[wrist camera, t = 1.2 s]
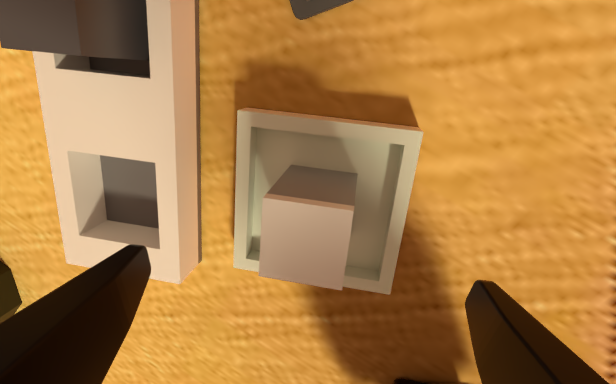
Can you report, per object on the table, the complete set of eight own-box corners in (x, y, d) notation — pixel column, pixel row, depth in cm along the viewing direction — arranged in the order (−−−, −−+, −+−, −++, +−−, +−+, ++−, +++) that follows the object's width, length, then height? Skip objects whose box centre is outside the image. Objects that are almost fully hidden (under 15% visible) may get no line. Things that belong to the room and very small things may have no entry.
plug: (348, 234, 22) (341, 290, 16) (286, 225, 22) (258, 275, 16) (357, 173, 20) (353, 211, 15) (291, 164, 21) (262, 197, 15)
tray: (388, 279, 23) (390, 294, 21) (242, 254, 24) (233, 267, 22) (418, 127, 19) (423, 131, 18) (247, 107, 21) (237, 109, 19)
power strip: (201, 260, 25) (147, 321, 19) (99, 242, 26) (15, 294, 19) (197, -76, 18) (111, -153, 12) (60, -83, 19) (-86, -157, 13)
